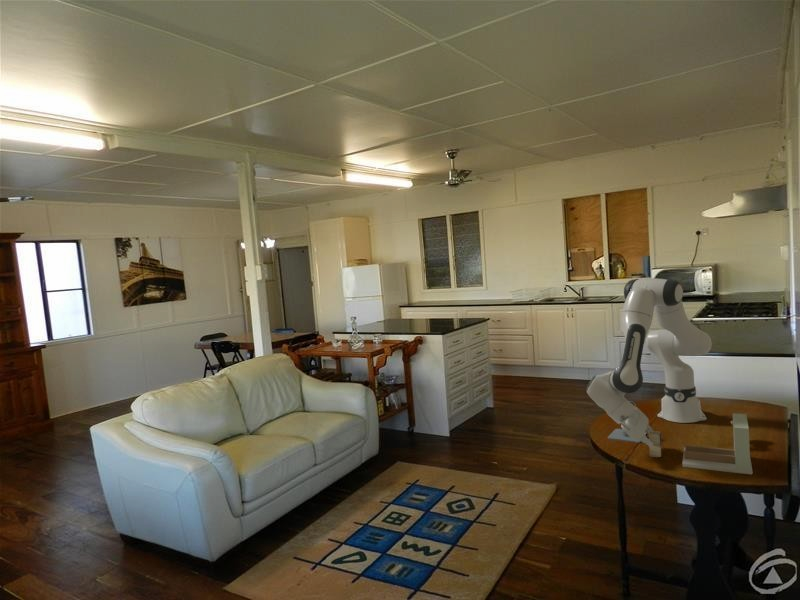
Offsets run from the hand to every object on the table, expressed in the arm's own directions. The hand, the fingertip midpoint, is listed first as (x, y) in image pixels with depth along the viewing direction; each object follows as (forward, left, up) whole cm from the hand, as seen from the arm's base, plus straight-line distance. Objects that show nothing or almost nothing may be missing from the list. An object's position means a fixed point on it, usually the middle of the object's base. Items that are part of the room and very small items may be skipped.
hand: (653, 440), depth 190 cm
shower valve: (-18, -10, -6) cm, 22 cm away
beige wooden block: (0, 0, -5) cm, 5 cm away
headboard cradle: (0, +19, -5) cm, 20 cm away
